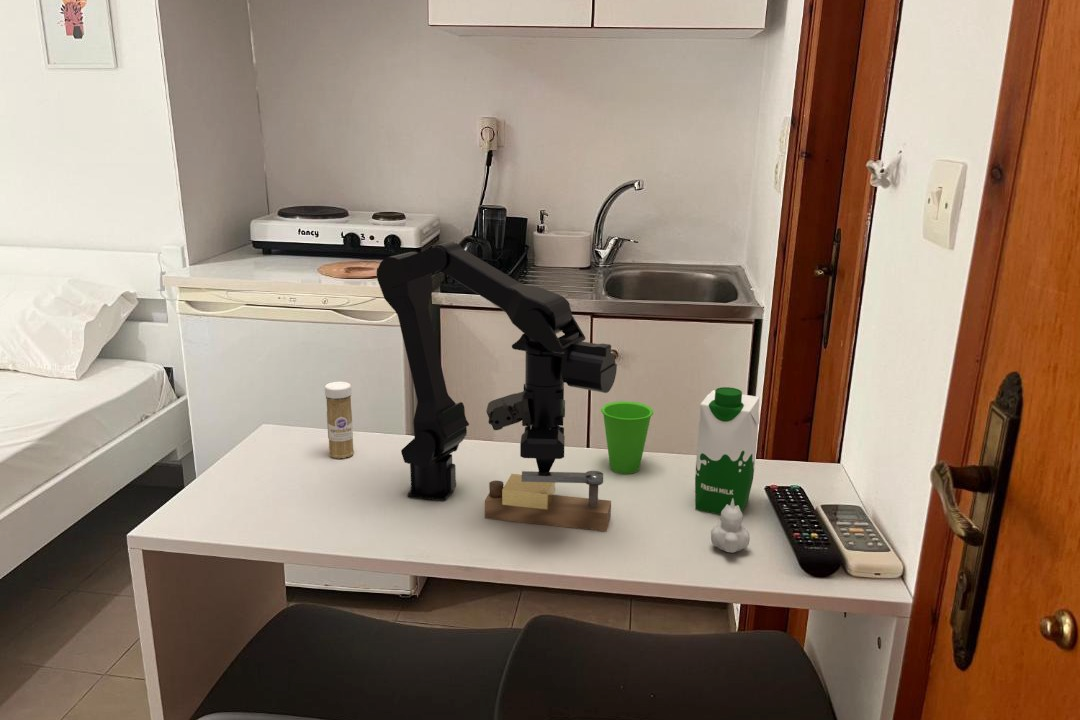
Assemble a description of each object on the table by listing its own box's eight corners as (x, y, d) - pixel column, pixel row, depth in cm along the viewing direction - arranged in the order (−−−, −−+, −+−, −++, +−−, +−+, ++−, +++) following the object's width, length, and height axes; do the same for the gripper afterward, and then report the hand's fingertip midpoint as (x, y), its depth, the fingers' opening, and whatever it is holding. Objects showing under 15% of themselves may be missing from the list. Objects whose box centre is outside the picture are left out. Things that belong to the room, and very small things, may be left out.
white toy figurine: (746, 542, 125) (751, 492, 123) (749, 564, 119) (754, 512, 117) (709, 538, 126) (713, 489, 124) (710, 560, 120) (714, 509, 118)
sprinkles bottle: (334, 461, 152) (330, 390, 148) (325, 453, 155) (320, 383, 151) (358, 456, 154) (355, 385, 150) (348, 448, 158) (344, 379, 154)
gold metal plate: (502, 504, 129) (502, 489, 128) (511, 488, 135) (511, 473, 134) (547, 509, 128) (547, 494, 127) (554, 492, 133) (555, 478, 133)
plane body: (484, 518, 131) (484, 478, 130) (492, 505, 136) (491, 467, 134) (606, 531, 128) (608, 491, 126) (610, 518, 132) (612, 479, 130)
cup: (648, 481, 145) (651, 420, 142) (595, 476, 147) (597, 416, 144) (652, 460, 154) (655, 403, 151) (602, 456, 156) (604, 399, 152)
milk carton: (688, 511, 135) (696, 391, 129) (702, 489, 143) (710, 375, 137) (743, 522, 131) (754, 400, 125) (755, 499, 139) (766, 383, 133)
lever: (521, 484, 127) (521, 476, 127) (522, 476, 130) (522, 469, 130) (603, 485, 127) (603, 478, 127) (602, 478, 130) (602, 470, 129)
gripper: (495, 359, 134) (495, 450, 139) (483, 402, 116) (485, 504, 121) (565, 361, 134) (564, 452, 138) (565, 403, 116) (563, 506, 121)
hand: (543, 476), depth 130 cm, fingers closed
